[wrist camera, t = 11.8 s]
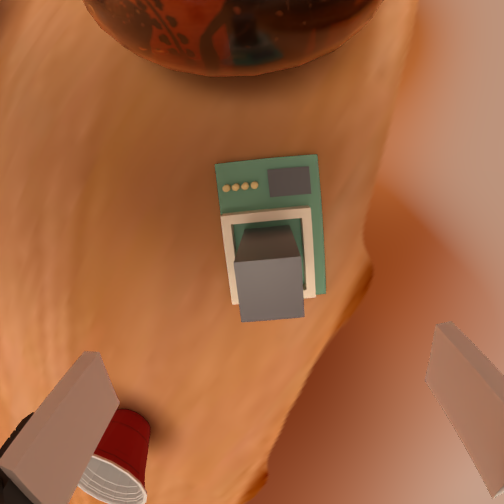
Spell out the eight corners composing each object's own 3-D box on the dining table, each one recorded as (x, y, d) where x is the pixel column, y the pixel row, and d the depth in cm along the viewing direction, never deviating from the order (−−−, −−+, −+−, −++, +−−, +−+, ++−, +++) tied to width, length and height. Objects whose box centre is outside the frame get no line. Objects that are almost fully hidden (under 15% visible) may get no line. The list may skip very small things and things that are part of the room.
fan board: (215, 164, 28) (209, 164, 25) (316, 154, 27) (321, 153, 24) (233, 300, 31) (230, 314, 28) (324, 292, 31) (330, 305, 28)
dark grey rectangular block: (244, 229, 29) (233, 262, 19) (289, 224, 28) (301, 256, 19) (250, 279, 30) (243, 333, 20) (293, 275, 30) (304, 327, 20)
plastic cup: (179, 418, 36) (156, 490, 25) (157, 455, 39) (136, 516, 27) (104, 380, 35) (62, 442, 24) (92, 423, 38) (60, 478, 26)
